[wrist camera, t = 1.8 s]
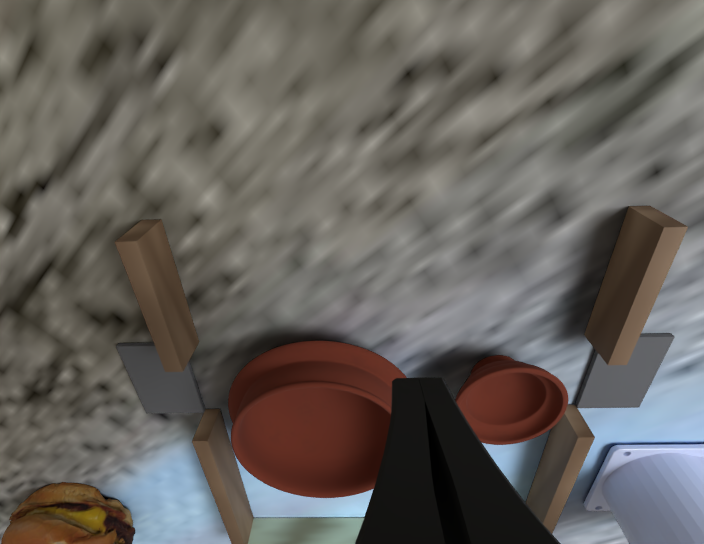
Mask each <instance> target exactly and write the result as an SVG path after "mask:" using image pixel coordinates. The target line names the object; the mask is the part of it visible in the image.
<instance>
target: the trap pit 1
mask: <svg viewBox="0 0 704 544" xmlns="http://www.w3.org/2000/svg"><path fill="white" fill-rule="evenodd" d="M116 348H117V350H118V352H119V354H120V357H121V359H122V361H123V363H124V365H125V368H126V370H127V372H128V374H129V376H130V378H131V381H132V383H133V385H134V387H135V389H136V392H137V394H138V396H139V398H140V400H141V403H142V405H143V407H144V409H145V411H146V413H204V412H205V406H204V403H203V400H202V397H201V394H200V391H199V388H198V385H197V382H196V379H195V376H194V373H193V370H192V367H191V364H190V361H189V362H188V364H187V365H186V367H185V369H184V371H183V372H165V370H164V368H163V365H162V363H161V360H160V357H159V355H158V352H157V350H156V347H155V345H154V343H118V345H117V346H116Z"/></svg>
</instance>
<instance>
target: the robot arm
mask: <svg viewBox="0 0 704 544" xmlns="http://www.w3.org/2000/svg"><path fill="white" fill-rule="evenodd" d="M584 507H585V509H586V510H588V511H612V513H613V515H614V517H615V518H616V520H617V522H618V524H619V526H620V528H621V529H622V531H623V533H624V535H625V537H626V539H627V540H628V542H629V544H704V444H668V445H615V446H613V447H611V449H610V451H609V453H608V455H607V457H606V459H605V461H604V463H603V465H602V467H601V469H600V471H599V473H598V475H597V477H596V479H595V481H594V483H593V486H592V488H591V490H590V492H589V494H588V496H587V498H586V500H585V502H584ZM355 544H560V543H559V542H558V540H557V539H556V538H555V537H554V536H553V535H552V534H551V532H550V531H549V530H548V529H547V528H546V527H545V526H544V524H543V523H542V522H541V521H540V520H539V518H538V517H537V516H536V515H535V514H534V512H533V511H532V510H531V509H530V508H529V506H528V505H527V504H526V503H525V501H524V500H523V499H522V498H521V496H520V495H519V494H518V493H517V491H516V490H515V489H514V487H513V486H512V485H511V483H510V482H509V481H508V479H507V478H506V477H505V475H504V474H503V473H502V471H501V470H500V469H499V467H498V466H497V465H496V463H495V462H494V460H493V459H492V457H491V456H490V455H489V453H488V452H487V450H486V449H485V447H484V446H483V444H482V443H481V441H480V440H479V438H478V437H477V435H476V434H475V432H474V431H473V429H472V428H471V426H470V424H469V423H468V421H467V420H466V418H465V416H464V415H463V413H462V411H461V410H460V408H459V406H458V405H457V403H456V401H455V399H454V397H453V396H452V394H451V392H450V390H449V388H448V386H447V384H446V382H445V380H443V379H442V378H396V379H394V380H393V381H392V403H391V418H390V425H389V430H388V435H387V440H386V445H385V449H384V454H383V457H382V461H381V465H380V468H379V472H378V476H377V480H376V483H375V486H374V490H373V493H372V496H371V499H370V502H369V505H368V508H367V511H366V514H365V517H364V520H363V523H362V526H361V529H360V531H359V534H358V536H357V539H356V542H355Z"/></svg>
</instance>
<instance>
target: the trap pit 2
mask: <svg viewBox="0 0 704 544" xmlns="http://www.w3.org/2000/svg"><path fill="white" fill-rule="evenodd" d="M673 339H674V336H673V335H672V334H671V333H665V334H640V337H639V339H638V341H637V343H636V346H635V348H634V350H633V352H632V355H631V357H630V359H629V361H628V364H627V365H607V364H606V362H605V361H604V360H603V359H602V357H601V356H600V355H599V353H598V352H597V351H596V350H595V353H594V356H593V358H592V361H591V363H590V366H589V369H588V371H587V374H586V377H585V379H584V382H583V385H582V387H581V390H580V393H579V395H578V398H577V401H576V403H575V405H576V407H577V408H631V407H639V406H640V404H641V403H642V401H643V399H644V397H645V395H646V393H647V391H648V389H649V387H650V385H651V383H652V381H653V379H654V377H655V375H656V373H657V371H658V369H659V367H660V365H661V363H662V361H663V359H664V357H665V355H666V353H667V351H668V349H669V347H670V345H671V343H672V341H673Z"/></svg>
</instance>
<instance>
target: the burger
mask: <svg viewBox="0 0 704 544" xmlns="http://www.w3.org/2000/svg"><path fill="white" fill-rule="evenodd" d="M11 515H12V516H11V517H10V519H9V520H11V521H10V523H11V524H10V525H9V527H8V528H7V529H6V531H5V533H4V535H3V537H2V543H1V544H132V541H133V536H134V534H135V528H133V527H132V526H133V521H132V518H131V513H130V511H129V510H128V509H127V508H124V507H123V505H122V504H121V503H120V501H118V500H112V499H108V500H106V499H104V497H103V496H102V495H101V494H100V491H99V490H98V489H96V488H95V487H92V486H89V485H85V484H79V483H65V482H62V483H61V484H55V483H54V484H51V485H48V486H45V487H43V488H41V489H39V490H37V491H36V492H34V493H33V494H31V495H30V496H29V497H28V498H27V499H26V500H25V501H24V502H23V503H21V504H20V505H19V506H18V508H17V509H16V510H15V511H14V512H13V513H12V514H11Z"/></svg>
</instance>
